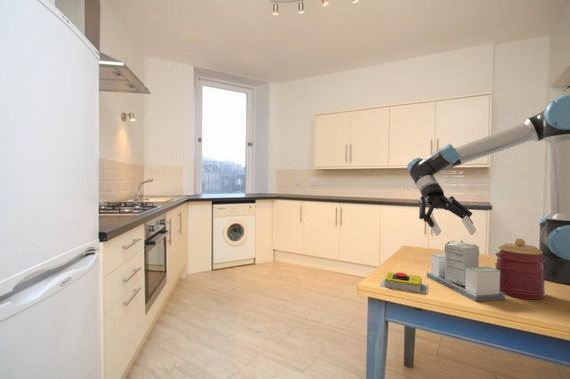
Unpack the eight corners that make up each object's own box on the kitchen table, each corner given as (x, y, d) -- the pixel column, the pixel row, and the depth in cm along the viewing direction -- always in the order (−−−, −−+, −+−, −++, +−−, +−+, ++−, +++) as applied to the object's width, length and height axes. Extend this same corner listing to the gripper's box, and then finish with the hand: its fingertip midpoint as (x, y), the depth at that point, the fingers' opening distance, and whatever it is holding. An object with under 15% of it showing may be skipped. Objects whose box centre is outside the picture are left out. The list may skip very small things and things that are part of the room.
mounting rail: (426, 276, 115) (426, 271, 115) (450, 275, 116) (450, 270, 116) (475, 301, 91) (475, 295, 91) (504, 299, 92) (505, 293, 92)
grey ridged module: (458, 277, 108) (459, 241, 108) (479, 283, 102) (479, 246, 101) (443, 279, 105) (444, 243, 105) (464, 286, 99) (464, 247, 98)
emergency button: (383, 268, 112) (428, 274, 105) (383, 279, 112) (428, 286, 105) (379, 275, 104) (428, 281, 97) (379, 287, 104) (427, 295, 97)
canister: (496, 283, 108) (497, 233, 107) (544, 291, 100) (545, 238, 99) (492, 293, 98) (494, 239, 97) (545, 303, 90) (547, 244, 89)
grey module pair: (430, 273, 114) (431, 254, 114) (450, 272, 115) (450, 253, 115) (476, 295, 92) (476, 271, 92) (499, 294, 93) (500, 270, 93)
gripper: (453, 195, 125) (481, 238, 111) (397, 195, 121) (419, 240, 107) (463, 182, 120) (494, 225, 105) (404, 182, 116) (428, 227, 102)
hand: (456, 233), depth 106 cm, fingers open, 13 cm apart
